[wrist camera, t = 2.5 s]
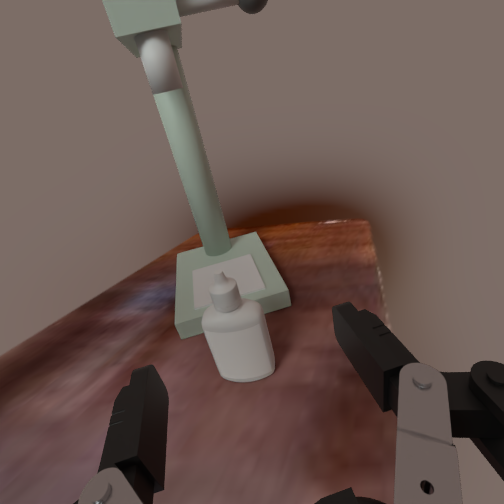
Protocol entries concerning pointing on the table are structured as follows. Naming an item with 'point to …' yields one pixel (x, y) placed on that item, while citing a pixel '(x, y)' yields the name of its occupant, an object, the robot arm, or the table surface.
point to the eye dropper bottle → (237, 333)
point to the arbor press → (194, 162)
